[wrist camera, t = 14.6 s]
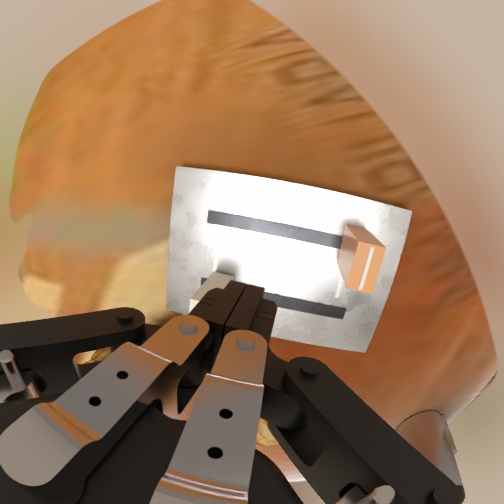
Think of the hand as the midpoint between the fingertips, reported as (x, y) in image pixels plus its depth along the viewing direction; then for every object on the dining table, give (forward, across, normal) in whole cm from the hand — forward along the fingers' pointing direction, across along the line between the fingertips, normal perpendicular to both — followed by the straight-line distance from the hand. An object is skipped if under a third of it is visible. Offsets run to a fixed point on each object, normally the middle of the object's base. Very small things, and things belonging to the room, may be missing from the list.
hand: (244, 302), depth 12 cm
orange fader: (+17, -8, 0) cm, 19 cm away
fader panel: (+19, 0, +4) cm, 20 cm away
